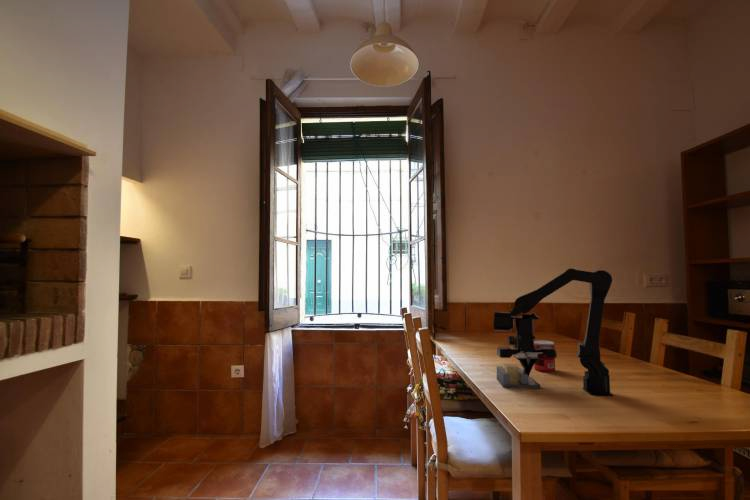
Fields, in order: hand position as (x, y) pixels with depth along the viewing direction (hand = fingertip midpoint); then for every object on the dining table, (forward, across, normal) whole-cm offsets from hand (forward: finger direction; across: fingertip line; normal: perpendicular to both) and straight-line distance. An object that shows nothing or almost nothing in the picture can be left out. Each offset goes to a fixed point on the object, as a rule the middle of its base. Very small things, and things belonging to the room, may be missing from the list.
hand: (527, 377), depth 126 cm
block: (+1, +5, 0) cm, 5 cm away
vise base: (+2, +3, 0) cm, 4 cm away
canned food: (+3, -13, -20) cm, 24 cm away
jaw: (+1, +1, 0) cm, 1 cm away
